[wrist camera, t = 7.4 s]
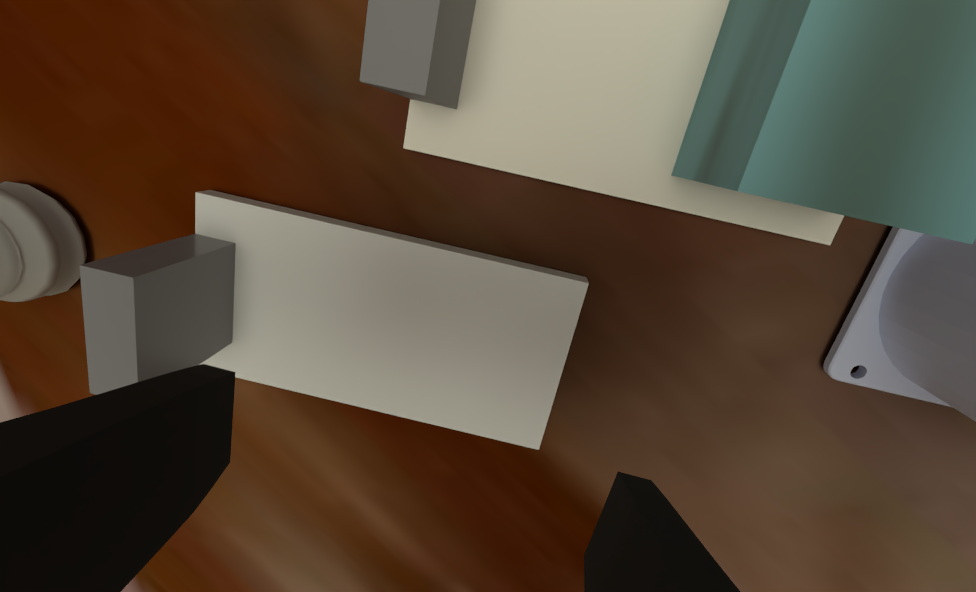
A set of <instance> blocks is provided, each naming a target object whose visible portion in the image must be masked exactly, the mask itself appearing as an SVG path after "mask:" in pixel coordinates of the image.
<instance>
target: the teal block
mask: <svg viewBox="0 0 976 592" xmlns="http://www.w3.org/2000/svg"><path fill="white" fill-rule="evenodd" d="M671 175H672V176H676V177H680V178H684V179H688V180H692V181H697V182H701V183H705V184H709V185H713V186H717V187H722V188H726V189H730V190H734V191H738V192H743V193H747V194H751V195H756V196H760V197H765V198H769V199H774V200H778V201H782V202H787V203H791V204H796V205H800V206H804V207H809V208H813V209H818V210H822V211H826V212H831V213H835V214H840V215H844V216H849V217H853V218H857V219H862V220H866V221H871V222H875V223H879V224H884V225H888V226H893V227H897V228H902V229H906V230H910V231H915V232H919V233H924V234H928V235H932V236H937V237H941V238H946V239H950V240H955V241H959V242H963V243H968V244H973V242H974V241H975V239H976V0H730V1H729V4H728V7H727V10H726V13H725V16H724V19H723V22H722V25H721V28H720V31H719V34H718V37H717V40H716V43H715V46H714V49H713V52H712V55H711V58H710V61H709V64H708V67H707V70H706V73H705V76H704V79H703V82H702V85H701V88H700V90H699V93H698V96H697V99H696V102H695V105H694V108H693V111H692V114H691V117H690V120H689V123H688V126H687V129H686V132H685V135H684V138H683V141H682V144H681V147H680V150H679V153H678V156H677V159H676V162H675V165H674V168H673V171H672V174H671Z"/></svg>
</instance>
